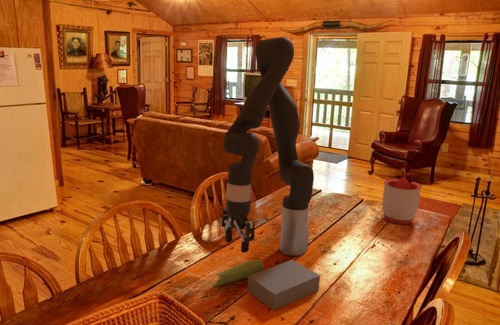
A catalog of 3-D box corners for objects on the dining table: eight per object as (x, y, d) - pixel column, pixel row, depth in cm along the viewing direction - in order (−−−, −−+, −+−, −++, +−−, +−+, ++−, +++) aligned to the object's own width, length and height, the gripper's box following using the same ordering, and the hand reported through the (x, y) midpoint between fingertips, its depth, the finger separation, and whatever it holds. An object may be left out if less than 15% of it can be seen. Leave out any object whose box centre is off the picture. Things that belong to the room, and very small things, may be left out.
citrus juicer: (420, 217, 186) (426, 175, 181) (412, 229, 171) (419, 184, 166) (385, 210, 194) (390, 169, 189) (375, 221, 179) (380, 177, 174)
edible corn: (268, 263, 130) (260, 254, 133) (213, 281, 119) (206, 271, 122) (265, 274, 132) (257, 265, 135) (211, 293, 121) (204, 283, 124)
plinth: (291, 273, 132) (292, 259, 130) (318, 290, 123) (320, 275, 121) (247, 291, 121) (248, 275, 120) (273, 310, 112) (274, 294, 111)
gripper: (263, 201, 119) (260, 252, 122) (235, 189, 130) (233, 236, 133) (242, 206, 114) (240, 258, 118) (215, 192, 125) (213, 241, 129)
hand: (236, 246), depth 126 cm, fingers open, 8 cm apart
